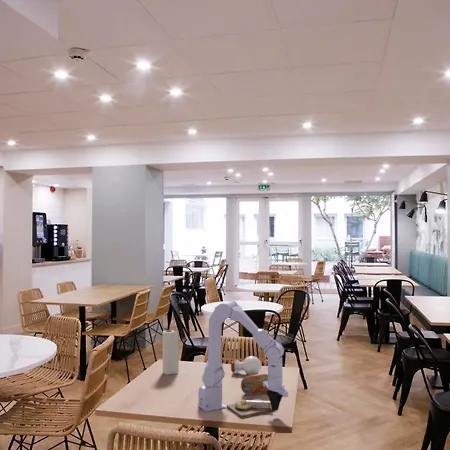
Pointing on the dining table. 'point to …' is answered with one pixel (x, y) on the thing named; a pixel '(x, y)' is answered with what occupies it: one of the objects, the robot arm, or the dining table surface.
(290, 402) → the dining table surface
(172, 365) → the paper towel roll
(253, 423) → the dining table surface
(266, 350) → the robot arm
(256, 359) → the potion bottle
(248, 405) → the switch lever
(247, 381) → the tin
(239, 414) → the lever switch plate
